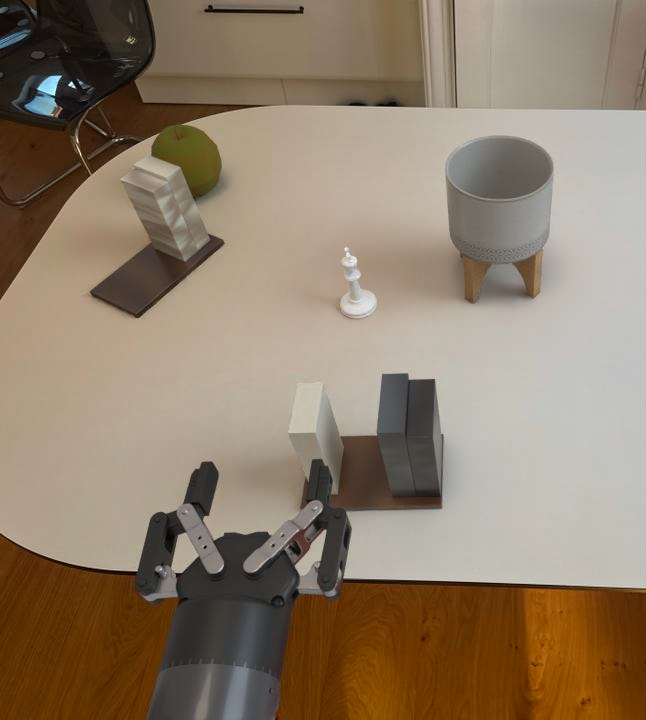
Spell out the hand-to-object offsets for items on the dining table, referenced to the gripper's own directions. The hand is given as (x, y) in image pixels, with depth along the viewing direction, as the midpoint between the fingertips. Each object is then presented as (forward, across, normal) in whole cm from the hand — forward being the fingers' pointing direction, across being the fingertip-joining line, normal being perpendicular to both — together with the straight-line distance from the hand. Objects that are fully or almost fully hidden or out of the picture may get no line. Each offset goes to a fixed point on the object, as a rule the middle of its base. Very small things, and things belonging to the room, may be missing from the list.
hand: (265, 465), depth 55 cm
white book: (+11, 0, +20) cm, 23 cm away
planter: (+42, -19, +21) cm, 51 cm away
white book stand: (+45, +28, +20) cm, 57 cm away
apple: (+64, +28, +20) cm, 72 cm away
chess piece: (+37, 0, +21) cm, 42 cm away
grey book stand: (+11, -5, +21) cm, 24 cm away
